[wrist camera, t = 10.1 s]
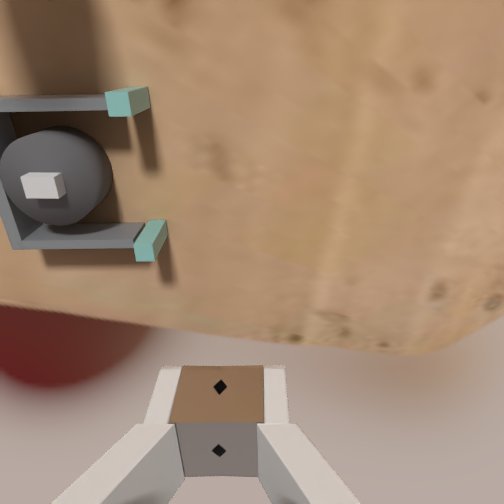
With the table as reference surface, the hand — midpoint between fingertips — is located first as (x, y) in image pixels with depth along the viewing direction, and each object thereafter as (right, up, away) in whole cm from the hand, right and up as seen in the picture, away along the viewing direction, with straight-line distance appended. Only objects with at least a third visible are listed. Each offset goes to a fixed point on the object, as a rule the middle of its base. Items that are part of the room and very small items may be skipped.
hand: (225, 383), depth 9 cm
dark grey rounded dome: (-15, +10, +22) cm, 29 cm away
